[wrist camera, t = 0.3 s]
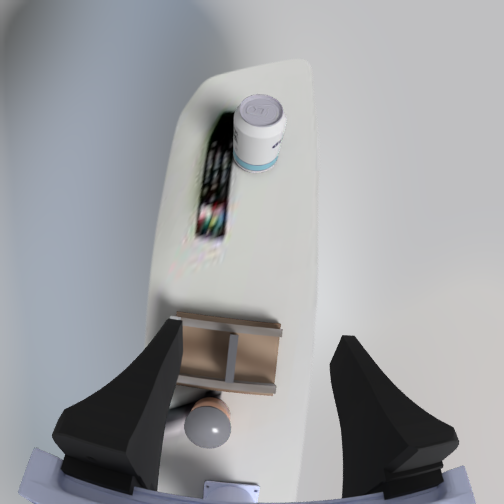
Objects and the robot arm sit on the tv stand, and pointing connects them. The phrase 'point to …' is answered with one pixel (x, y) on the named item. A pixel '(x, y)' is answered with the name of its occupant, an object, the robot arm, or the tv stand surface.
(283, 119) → the beverage can
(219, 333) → the tray
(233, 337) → the pusher plate
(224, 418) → the jar
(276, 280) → the tv stand surface
